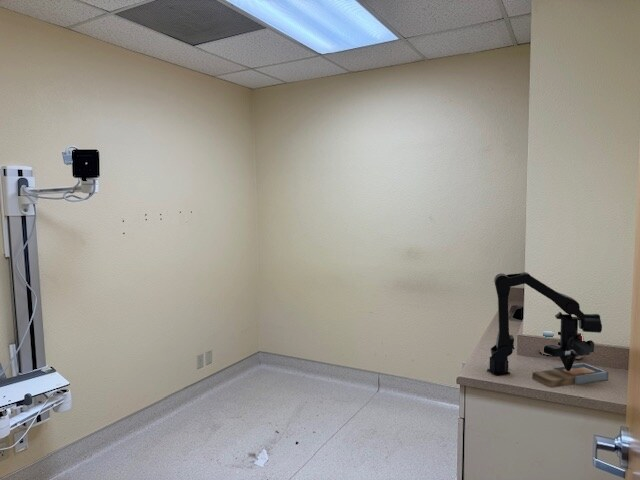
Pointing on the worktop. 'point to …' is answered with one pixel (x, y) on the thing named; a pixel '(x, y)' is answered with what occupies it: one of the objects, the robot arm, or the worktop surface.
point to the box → (587, 378)
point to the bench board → (553, 378)
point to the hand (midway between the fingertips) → (568, 370)
